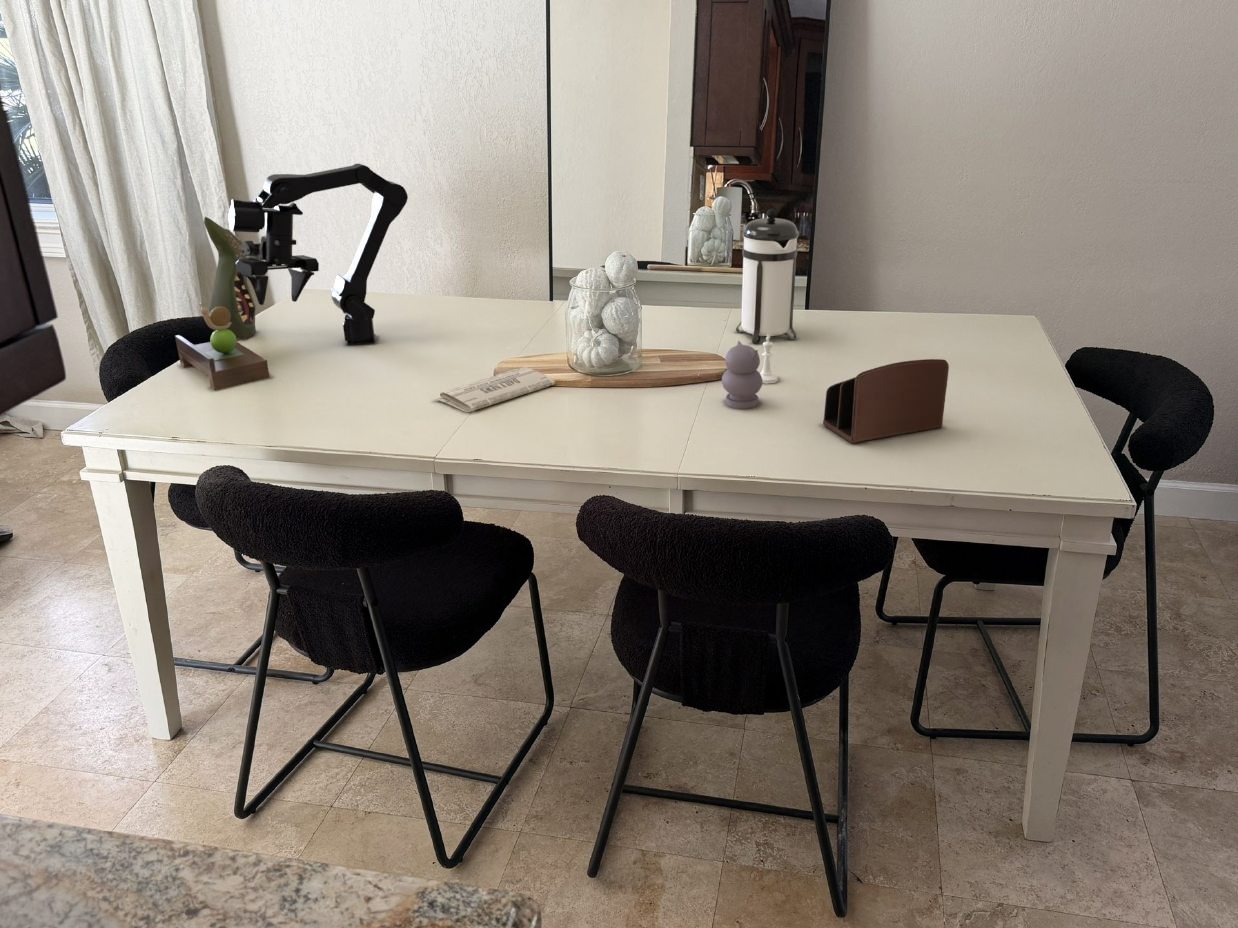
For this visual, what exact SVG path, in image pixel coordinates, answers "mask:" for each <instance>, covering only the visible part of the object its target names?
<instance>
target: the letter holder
mask: <svg viewBox="0 0 1238 928" xmlns="http://www.w3.org/2000/svg"><path fill="white" fill-rule="evenodd" d="M949 368H950V364H949V362H948V361H947V360H946V359H942V358H939V359H938V358H929V359H928V358H927V359H913V360H904V361H898V362H893V363H888V364H885V365H881V366H877V367H874V368H870V369H868V370H865V371H861V372H860V373H858V374H857V375H856V376H855V377H852V378H849V379H846V380H843V381H841V382H837V383H834V384H832V385H830V386H829V387H828V388H827V389H826V392H825V402H824V412H823V420H822V425H823V426H824V427H826V428H828V429H829V430H830V431H832V432H833V433H835V434H837V435H838V436H839V437H841V438H843V439H844V440H846V441H847V442H849V443H850V444H858V443H862V442H868V441H875V440H878V439H885V438H889V437H890V438H891V437H896V436H902V435H908V434H913V433H918V432H919V433H920V432H924V431H925V432H926V431H929V430H935V429H941V428H942V427H943V423H944V422H943V421H944V413H945V406H946V405H945V404H946V396H947V395H946V394H947V388H948V380H949Z"/></svg>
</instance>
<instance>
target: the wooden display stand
mask: <svg viewBox="0 0 1238 928" xmlns="http://www.w3.org/2000/svg"><path fill="white" fill-rule="evenodd" d="M174 338H175V344H176V348H177V353H178V359H179V362H180V366H181V367H183V369H184V368H190V367H195V368H196V369H198V370H199V371H201V372H202V373H203V374H205V375H206V376H207V377H208V379H209V385H210V388H211V389H212V390H213V391H219V390H223V389H227V388H232V387H236V386H241V385H245V384H248V383H253V382H258V381H263V380H266V379H270V378H271V376H270V371H269V365H268V360H267V359H266V358H264V357H262V356H261V355H259V354H257V353H256V352H254V351H252V350H251V349H250V348H248V347H246V346H244V345H243V344H242V343H240V342H238V341H237V343H236V347H235V348H234V349H233V350H232V351H231V352H229V353H219V352H217V351H216V350H214V349H213V347H212V346H211V343H210V341H208V342H204V343H198V344H193V343H192V342H190V341H189V340H187V339H186V338H185V337H183V336H182V335H181V334H177V335H174Z"/></svg>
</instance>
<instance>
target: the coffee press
mask: <svg viewBox="0 0 1238 928" xmlns="http://www.w3.org/2000/svg"><path fill="white" fill-rule="evenodd" d="M765 214H766V216H767V217H762V218H755V219H753V220H750V221H749V222H748V223H747V224H746V225H745V227H744V229H743V230H742V237H743V246H742V258H743V259H742V281H741V282H742V284H741V309H740V310H741V312H740V322H739V324H738V325H737V327H736V328H735V332H736V333H739V334H740V333H742V332H743V331H745V332H746V333H748V334H751V335H752V339H751V342H752V344H755V345H756V344H757V345H759V344H760V342H761V338H762V337H767V334H769V336H770V337H774V336H775V337H776V336H781V335H784V336H786V337H787V338H788V339H789V340H790V341H794V340H795V339H797V332H796V331H795V329H794V327H793V325H794V323H793V322H794V302H795V285H796V269H797V268H796V267H797V256H798V245H797V244H798V241H797V240H798V238H799V236H800V231H799V230H798V229H797V225H796V224H795V223H794V222H793V221H791V220H788V219H785V218H780V217H777V214H778V213H777V211H776V209H774V208H769V209H767V211H766V213H765ZM740 326H741V328H742V330H740V329H739V328H740ZM789 331H790V332H791V334H792V335H793V336H791V335H790V333H788V332H789Z"/></svg>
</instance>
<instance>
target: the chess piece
mask: <svg viewBox="0 0 1238 928" xmlns="http://www.w3.org/2000/svg"><path fill="white" fill-rule="evenodd" d="M770 339H771V336H769V334H767V336H766V337H765V341H763V343H762V346H763V350H764V352H762V354H761V356H762V357H764V360H763V365H762V370H761V371H760V372H759V373H760V375H761V377H762V381H763V383H762V384H765V385H766V384H767V385H769V384H775V383H777V382H778V381H779V379H778V375H777V374H775V373H773V371H772V370H771V363H770V361H771V360H770V359H771V358H770V357H772V356H773V353H772V352H771V350H772V348H773V344H774V343H773V342H772V341H770Z"/></svg>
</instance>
